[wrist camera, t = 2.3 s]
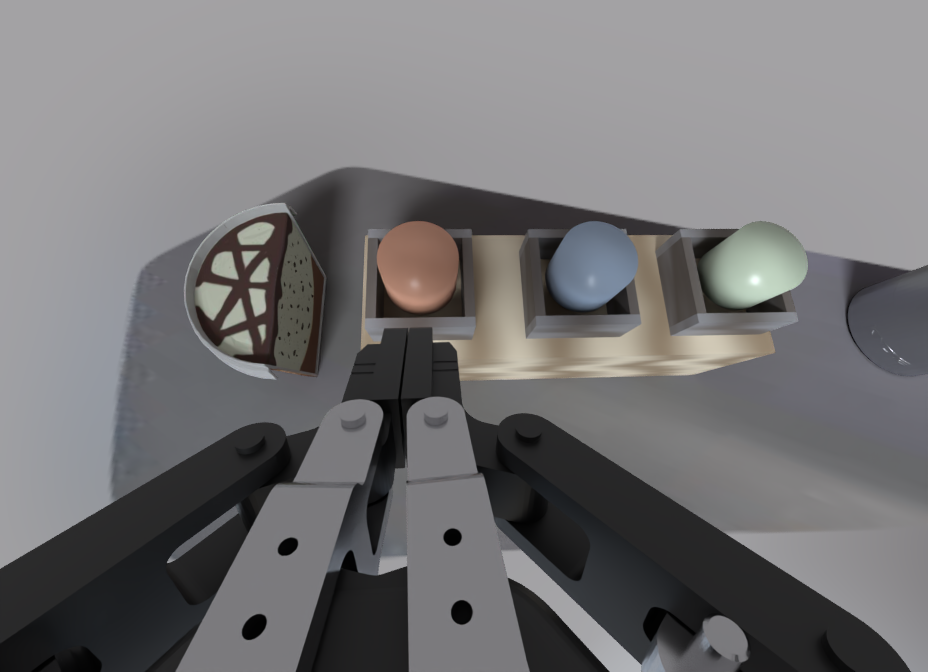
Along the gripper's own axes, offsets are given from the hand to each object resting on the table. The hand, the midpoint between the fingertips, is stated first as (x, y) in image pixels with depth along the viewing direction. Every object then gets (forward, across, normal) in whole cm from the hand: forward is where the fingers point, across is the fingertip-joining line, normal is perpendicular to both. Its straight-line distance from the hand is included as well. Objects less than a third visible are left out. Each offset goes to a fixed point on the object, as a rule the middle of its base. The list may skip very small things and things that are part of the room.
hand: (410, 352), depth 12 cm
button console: (+20, -10, +10) cm, 24 cm away
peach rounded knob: (+12, 0, +2) cm, 12 cm away
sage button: (+12, -20, +2) cm, 23 cm away
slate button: (+12, -10, +2) cm, 16 cm away
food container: (+21, +13, +10) cm, 26 cm away
